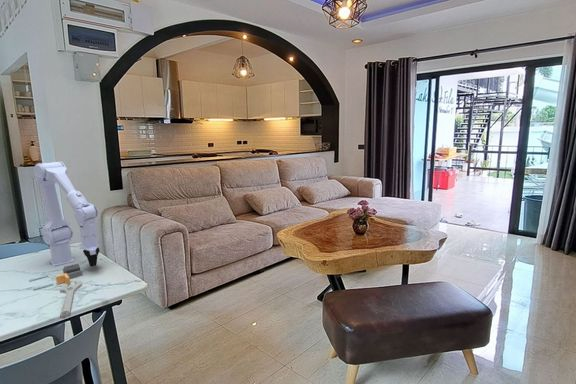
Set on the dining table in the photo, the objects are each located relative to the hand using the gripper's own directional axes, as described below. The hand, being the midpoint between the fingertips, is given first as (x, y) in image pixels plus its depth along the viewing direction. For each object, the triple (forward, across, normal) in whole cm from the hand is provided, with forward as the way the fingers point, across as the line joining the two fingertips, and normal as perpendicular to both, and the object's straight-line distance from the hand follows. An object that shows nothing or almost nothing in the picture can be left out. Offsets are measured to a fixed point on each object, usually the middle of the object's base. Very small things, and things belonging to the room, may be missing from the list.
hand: (93, 265), depth 139 cm
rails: (+1, +3, -18) cm, 18 cm away
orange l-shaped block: (+1, +9, -11) cm, 14 cm away
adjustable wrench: (+2, +23, -11) cm, 26 cm away
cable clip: (+1, +1, -7) cm, 8 cm away
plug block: (+2, +1, -7) cm, 8 cm away
